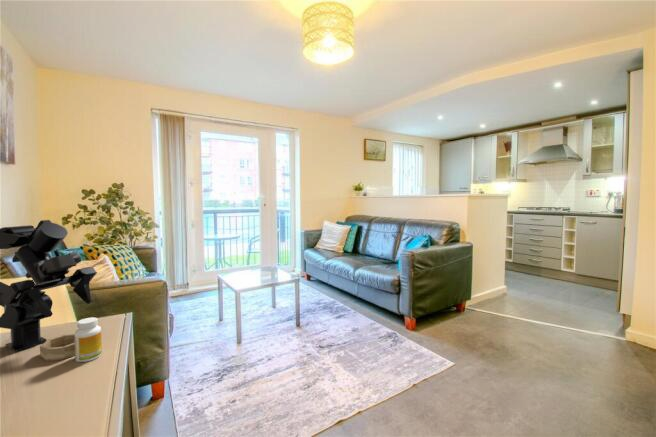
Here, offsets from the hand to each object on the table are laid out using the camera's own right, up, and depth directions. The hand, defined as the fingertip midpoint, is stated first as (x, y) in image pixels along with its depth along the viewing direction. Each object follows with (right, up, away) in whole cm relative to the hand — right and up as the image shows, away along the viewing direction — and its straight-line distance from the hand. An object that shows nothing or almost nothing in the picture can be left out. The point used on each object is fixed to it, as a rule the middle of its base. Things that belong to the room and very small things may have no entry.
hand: (71, 309), depth 77 cm
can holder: (-3, -12, +1) cm, 12 cm away
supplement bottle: (+5, -12, -1) cm, 13 cm away
